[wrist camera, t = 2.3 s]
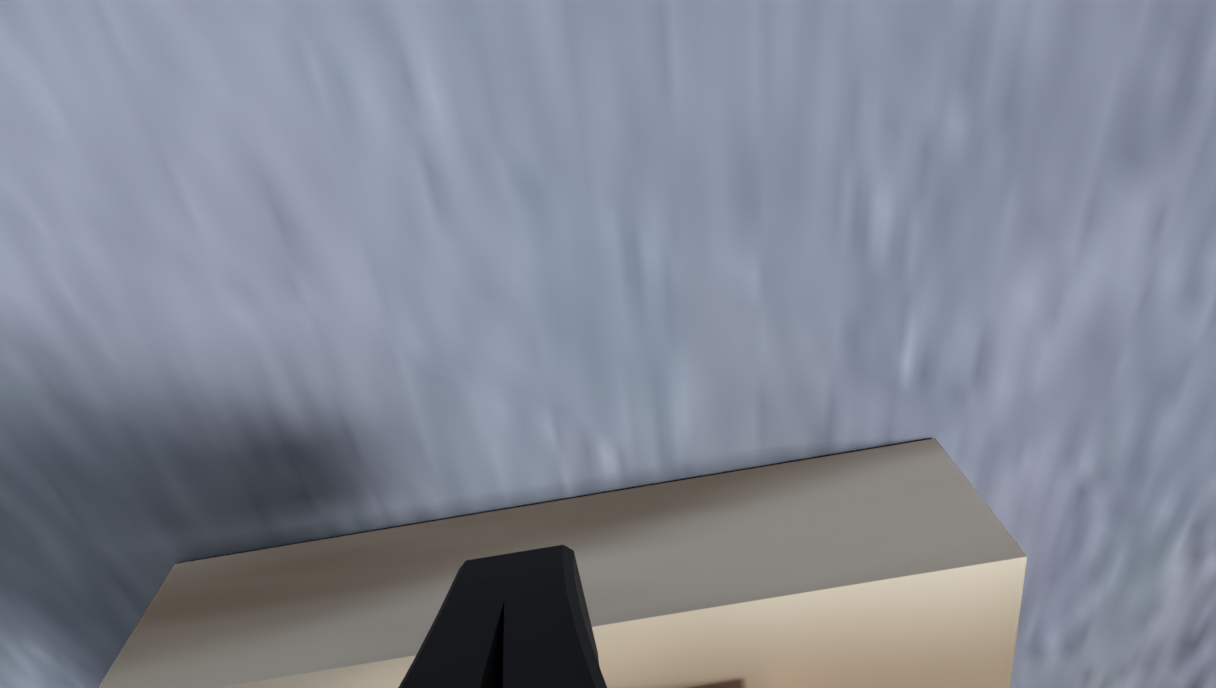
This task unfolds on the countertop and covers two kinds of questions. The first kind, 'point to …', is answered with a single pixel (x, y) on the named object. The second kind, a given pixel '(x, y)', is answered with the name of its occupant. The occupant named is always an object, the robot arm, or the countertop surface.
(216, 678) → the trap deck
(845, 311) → the countertop surface
